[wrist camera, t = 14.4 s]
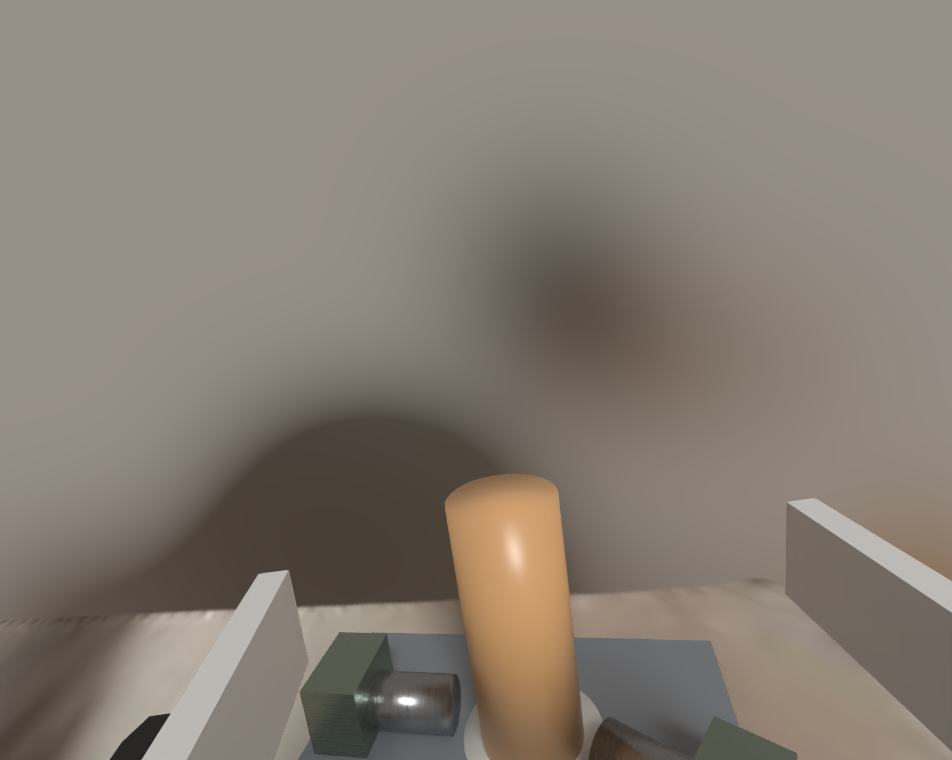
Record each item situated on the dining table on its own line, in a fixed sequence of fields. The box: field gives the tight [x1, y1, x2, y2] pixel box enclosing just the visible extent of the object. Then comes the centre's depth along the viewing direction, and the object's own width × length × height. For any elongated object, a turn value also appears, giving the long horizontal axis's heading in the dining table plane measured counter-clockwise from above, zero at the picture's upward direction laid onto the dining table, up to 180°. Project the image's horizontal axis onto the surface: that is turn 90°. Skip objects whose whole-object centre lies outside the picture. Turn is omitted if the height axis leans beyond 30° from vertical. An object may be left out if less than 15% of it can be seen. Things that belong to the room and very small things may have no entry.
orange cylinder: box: [445, 474, 584, 760], centre depth 25 cm, size 5×5×13 cm
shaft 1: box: [300, 632, 461, 759], centre depth 27 cm, size 7×4×4 cm, turn 78°
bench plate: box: [299, 633, 739, 760], centre depth 26 cm, size 22×14×1 cm, turn 78°
